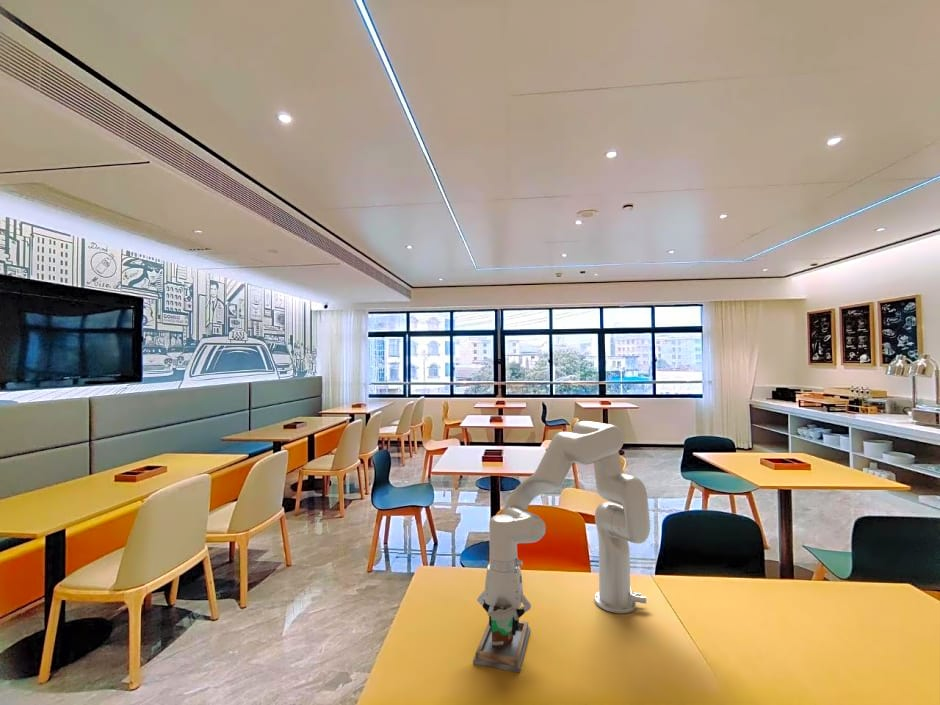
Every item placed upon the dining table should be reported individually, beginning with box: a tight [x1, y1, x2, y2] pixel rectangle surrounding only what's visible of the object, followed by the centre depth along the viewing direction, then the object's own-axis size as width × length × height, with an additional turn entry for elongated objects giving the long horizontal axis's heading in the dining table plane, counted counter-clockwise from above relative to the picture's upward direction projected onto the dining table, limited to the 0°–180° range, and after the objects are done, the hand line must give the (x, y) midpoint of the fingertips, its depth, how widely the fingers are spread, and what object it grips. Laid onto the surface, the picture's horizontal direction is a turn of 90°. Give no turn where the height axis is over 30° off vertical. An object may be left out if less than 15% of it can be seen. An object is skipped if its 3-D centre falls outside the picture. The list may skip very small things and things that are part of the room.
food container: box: [491, 606, 517, 648], centre depth 116 cm, size 12×6×10 cm, turn 168°
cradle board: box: [472, 620, 531, 674], centre depth 116 cm, size 12×18×2 cm, turn 164°
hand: (504, 629), depth 117 cm, fingers closed on food container, 5 cm apart
